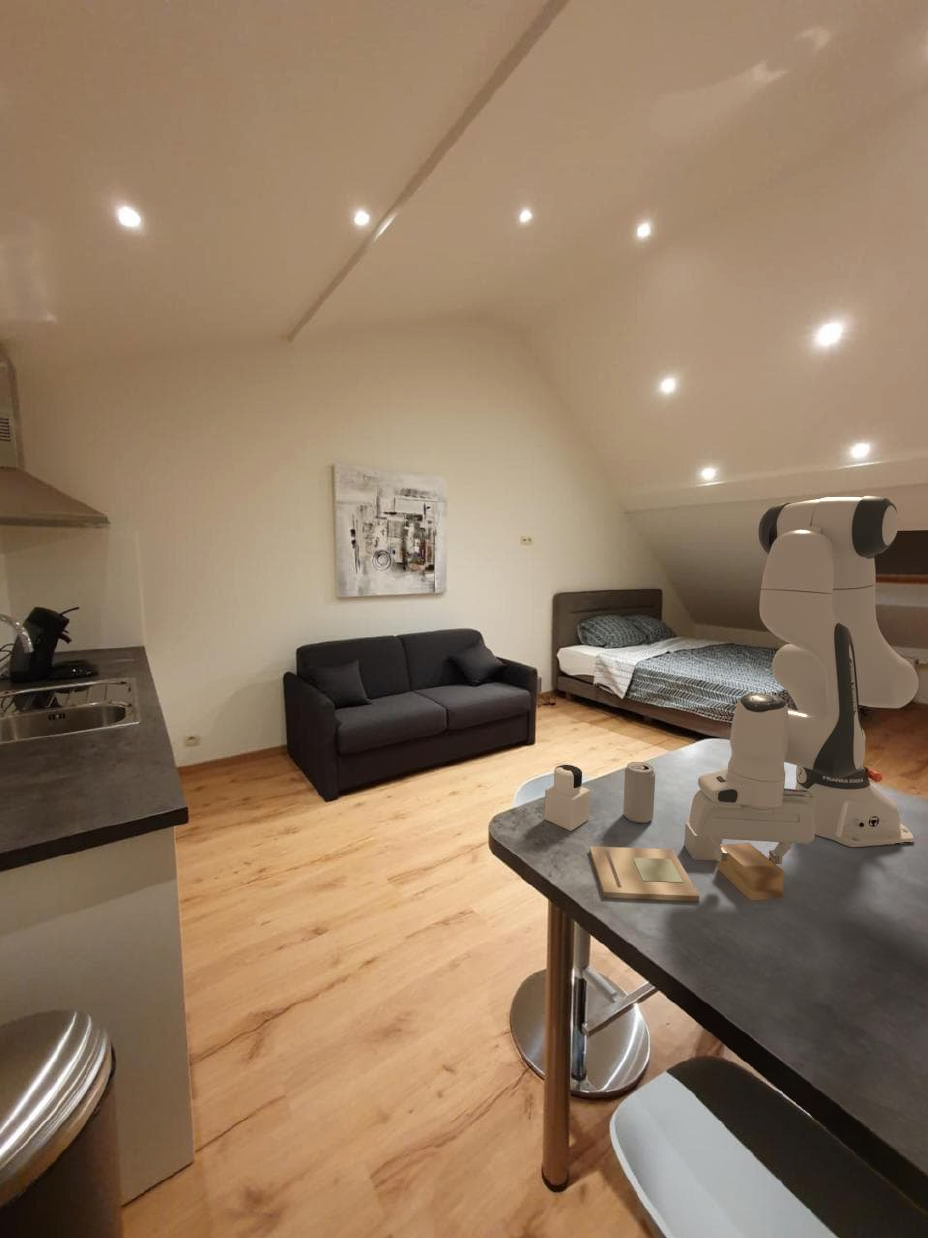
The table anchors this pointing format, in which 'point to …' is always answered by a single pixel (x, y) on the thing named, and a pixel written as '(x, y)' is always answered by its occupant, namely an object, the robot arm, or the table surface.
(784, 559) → the robot arm
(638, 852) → the plate
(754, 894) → the oak block
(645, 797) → the beverage can
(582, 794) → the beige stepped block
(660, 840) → the table surface
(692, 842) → the top cube
